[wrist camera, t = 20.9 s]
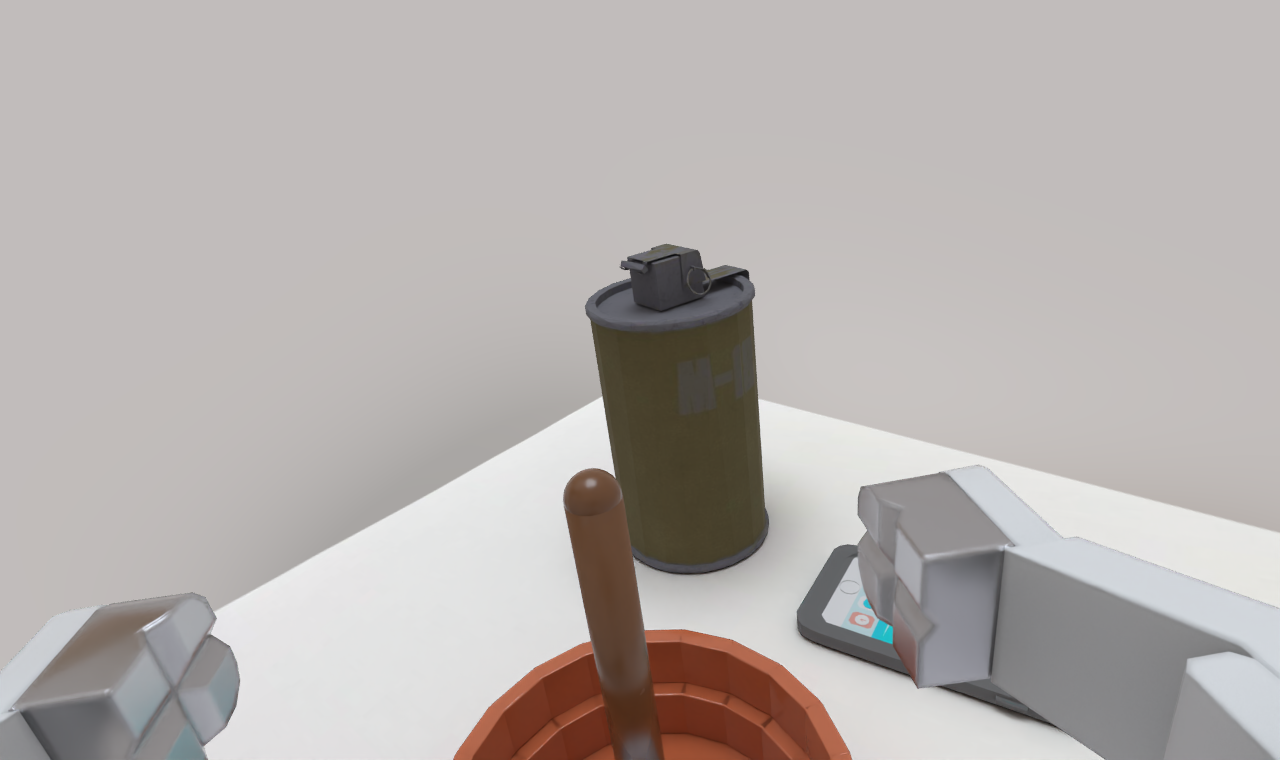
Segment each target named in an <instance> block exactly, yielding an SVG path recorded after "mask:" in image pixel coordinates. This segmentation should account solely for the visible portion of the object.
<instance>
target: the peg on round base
mask: <svg viewBox="0 0 1280 760" xmlns="http://www.w3.org/2000/svg"><path fill="white" fill-rule="evenodd" d="M563 502H564V508H565V513H566V518H567V523H568V528H569V533H570V538H571V543H572V548H573V553H574V558H575V563H576V568H577V573H578V578H579V583H580V588H581V593H582V598H583V603H584V608H585V613H586V618H587V623H588V628H589V633H590V638H591V643H592V648H593V653H594V658H595V663H596V668H597V673H598V678H599V683H600V688H601V693H602V698H603V703H604V708H605V713H606V718H607V723H608V728H609V733H610V738H611V743H612V748H613V753H614V758H615V760H665V757H664V751H663V744H662V738H661V732H660V725H659V719H658V713H657V707H656V700H655V694H654V688H653V681H652V675H651V669H650V663H649V656H648V650H647V644H646V637H645V631H644V625H643V619H642V612H641V606H640V600H639V593H638V587H637V581H636V575H635V568H634V562H633V556H632V549H631V543H630V537H629V531H628V524H627V518H626V512H625V505H624V499H623V493H622V489H621V487H620V484H619V483H618V481H617V480H616V479H615V478H614V477H613V475H611V474H610V473H608V472H607V471H604V470H601V469H595V468H591V469H586V470H583V471H580V472H578V473H577V474H576V475H574V476H573V477H572V478H571V479H570V481H569V482H568V483H567V485H566V488H565V490H564V496H563Z"/></svg>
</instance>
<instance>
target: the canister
mask: <svg viewBox="0 0 1280 760" xmlns="http://www.w3.org/2000/svg"><path fill="white" fill-rule="evenodd" d="M651 249H652V250H650V251H647V252H643V253H640V254H636V255H633V256H629V257H628V258H627V259H628V261H622V262H621V267H620V268H621V269H624V268H625V269H624V270H629V269H630V275H631V278H630V279H626V280H623V281H620V282H616V283H613V284H611V285H609V286H607V287H605V288H603V289H601V290H599V291H598V292H596V293H595V294H594V295H593V296H591V297H590V298H589V299H588V301H587V303H586V305H585V309H586V314H587V316H588V317H589V318H590V320H591V326H592V332H593V339H594V344H595V351H596V357H597V364H598V370H599V376H600V382H601V388H602V395H603V401H604V408H605V414H606V420H607V426H608V433H609V439H610V445H611V451H612V458H613V464H614V470H615V476H616V480H617V481H618V483H619V484H620V487H621V489H622V493H623V499H624V505H625V512H626V518H627V524H628V531H629V537H630V543H631V549H632V554H633V555H634V556H635V557H636V558H638V559H639V560H641V561H642V562H644V563H645V564H647V565H650V566H652V567H654V568H657V569H659V570H663V571H668V572H685V573H703V572H708V571H712V570H716V569H721V568H724V567H727V566H730V565H732V564H735V563H736V562H738V561H740V560H742V559H744V558H746V557H748V556H749V555H750V554H752V553H753V552H754V551H755V550H756V549H757V548H758V547H759V546H760V545H761V543H762V542H763V541H764V539H765V537H766V535H767V531H768V526H769V518H768V514H767V511H766V508H765V503H764V487H763V471H762V454H761V438H760V422H759V406H758V390H757V374H756V359H755V344H754V326H753V310H752V299H753V298H754V296H755V289H754V285H753V283H751V282H750V281H749V272H748V271H747V270H745V269H741V268H736V267H732V266H727V265H724V266H721V267H718V268H714V269H711V270H706V269H705V268H704V269H703V266H702V261H701V256H700V253H699V251H698V250H694V249H689V248H684V247H679V246H674V245H670V244H664V245H660V246H657V247H654V248H651ZM622 267H624V268H622Z"/></svg>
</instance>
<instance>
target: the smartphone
mask: <svg viewBox="0 0 1280 760" xmlns="http://www.w3.org/2000/svg"><path fill="white" fill-rule="evenodd" d="M797 623H798V629H799V631H800V633H801V635H803V636H804V637H806V638H808V639H810V640H812V641H814V642H816V643H819V644H821V645H824V646H827V647H830V648H833V649H836V650H839V651H842V652H845V653H847V654H850V655H853V656H856V657H859V658H862V659H865V660H868V661H871V662H874V663H877V664H879V665H882V666H885V667H888V668H891V669H894V670H897V671H900V672H903V673H906V674H909V673H908V671H907V669H906V668H905V666H904V664H903V662H902V661H901V659H900V657H899V656H898V654H897V652H896V650H895V649H894V647H893V627H892V626H890V625H888V624H886V623H885V622H883V621H881V620H879V619H877V617H876V615H875V613H874V612H873V610H872V608H871V606H870V604H869V602H868V600H867V597H866V594H865V592H864V589H863V586H862V581H861V576H860V572H859V567H858V546H856V545H848V544H847V545H842V546H839V547H837V548H835V549H834V550H833V552H832V554H831V555H830V557H829V559H828V560H827V562H826V564H825V565H824V567H823V569H822V570H821V572H820V574H819V575H818V577H817V579H816V580H815V582H814V584H813V585H812V587H811V589H810V590H809V592H808V594H807V595H806V597H805V599H804V600H803V602H802V604H801V605H800V607H799V609H798V610H797ZM909 675H910V674H909ZM941 686H944V687H946V688H949V689H952V690H955V691H958V692H961V693H964V694H967V695H970V696H973V697H976V698H978V699H981V700H984V701H987V702H990V703H993V704H996V705H999V706H1002V707H1005V708H1008V709H1010V710H1013V711H1016V712H1019V713H1022V714H1025V715H1028V716H1031V717H1034V718H1037V719H1040V720H1043V721H1045V722H1048V723H1051V722H1049V721H1048V720H1046V719H1045V718H1043V717H1042V716H1040V715H1039V714H1038V713H1036V712H1035V711H1033V710H1032V709H1030V708H1029V707H1027V706H1026V705H1024V704H1023V703H1021V702H1020V701H1018V700H1017V699H1015V698H1014V697H1013V696H1011V695H1010V694H1008V693H1007V692H1005V691H1004V690H1002V689H1001V688H999V687H998V686H996V685H995V684H993V683H992V682H991V678H989V679H982V680H975V681H968V682H961V683H953V684H946V685H941ZM1051 724H1052V723H1051Z"/></svg>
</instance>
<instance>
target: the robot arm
mask: <svg viewBox="0 0 1280 760" xmlns="http://www.w3.org/2000/svg"><path fill="white" fill-rule="evenodd" d="M858 516H859V518H860V519H861V521H862V522H863V524H864V525H865V527H866V529H867V532H866V533H865V535H864V536H863V537H862V539H861V540H860V542H859V543H858V567H859V572H860V576H861V581H862V586H863V589H864V592H865V594H866V597H867V600H868V602H869V604H870V606H871V608H872V610H873V612H874V613H875V615H876V617H877V619H879V620H881V621H883V622H885V623H886V624H888V625H890V626H892V627H893V647H894V649H895V650H896V652H897V654H898V656H899V657H900V659H901V661H902V662H903V664H904V666H905V668H906V669H907V671H908V673H909V674H910V676H911V678H912V680H913V681H914V683H915V685H916V686H917V688H925V687H932V686H939V685H946V684H953V683H961V682H968V681H975V680H982V679H989V678H991V682H992V683H993V684H995V685H996V686H998V687H999V688H1001V689H1002V690H1004V691H1005V692H1007V693H1008V694H1010V695H1011V696H1013V697H1014V698H1015V699H1017V700H1018V701H1020V702H1021V703H1023V704H1024V705H1026V706H1027V707H1029V708H1030V709H1032V710H1033V711H1035V712H1036V713H1038V714H1039V715H1040V716H1042V717H1043V718H1045V719H1046V720H1048V721H1049V722H1051V723H1052V724H1054V725H1055V726H1057V727H1058V728H1060V729H1061V730H1063V731H1064V732H1066V733H1067V734H1068V735H1070V736H1071V737H1073V738H1074V739H1076V740H1077V741H1079V742H1080V743H1082V744H1083V745H1085V746H1086V747H1088V748H1089V749H1091V750H1092V751H1094V752H1095V753H1096V754H1098V755H1099V756H1101V757H1102V758H1104V759H1105V760H1280V608H1277V607H1274V606H1271V605H1269V604H1266V603H1263V602H1260V601H1257V600H1254V599H1252V598H1249V597H1246V596H1243V595H1240V594H1237V593H1235V592H1232V591H1229V590H1226V589H1223V588H1221V587H1218V586H1215V585H1212V584H1209V583H1206V582H1204V581H1201V580H1198V579H1195V578H1192V577H1190V576H1187V575H1184V574H1181V573H1178V572H1175V571H1173V570H1170V569H1167V568H1164V567H1161V566H1158V565H1156V564H1153V563H1150V562H1147V561H1144V560H1142V559H1139V558H1136V557H1133V556H1130V555H1127V554H1125V553H1122V552H1119V551H1116V550H1113V549H1110V548H1108V547H1105V546H1102V545H1099V544H1096V543H1094V542H1091V541H1088V540H1085V539H1082V538H1079V537H1072V538H1065V539H1064V538H1063V537H1062V536H1061V535H1060V534H1059V533H1057V532H1056V531H1055V530H1054V529H1053V528H1052V527H1051V526H1050V525H1049V524H1048V523H1047V522H1046V521H1044V520H1043V519H1042V518H1041V517H1040V516H1039V515H1038V514H1037V513H1036V512H1035V511H1034V510H1033V509H1031V508H1030V507H1029V506H1028V505H1027V504H1026V503H1025V502H1024V501H1023V500H1022V499H1021V498H1020V497H1018V496H1017V495H1016V494H1015V493H1014V492H1013V491H1012V490H1011V489H1010V488H1009V487H1008V486H1007V485H1005V484H1004V483H1003V482H1002V481H1001V480H1000V479H999V478H998V477H997V476H996V475H995V474H994V473H992V472H991V471H990V470H989V469H988V468H986V467H983V466H980V465H974V466H969V467H963V468H958V469H953V470H948V471H943V472H939V473H937V474H931V475H925V476H920V477H914V478H908V479H902V480H897V481H891V482H885V483H879V484H874V485H868V486H862V487H861V488H860V492H859V496H858ZM216 619H217V618H216V616H215V614H214V612H213V610H212V608H211V607H210V605H209V603H208V601H207V599H206V597H204V596H201V595H198V594H195V593H185V594H178V595H171V596H164V597H157V598H149V599H142V600H135V601H127V602H121V603H113V604H110V605H99V606H93V607H87V608H81V609H74V610H69V611H66V612H64V613H61V614H58V615H56V616H53V617H52V618H51V619H50V620H49V621H48V622H47V623H46V624H45V625H44V626H43V627H42V629H41V630H40V631H39V632H38V633H37V634H36V635H35V636H34V637H33V638H32V639H31V640H30V641H29V642H28V643H27V644H26V645H25V646H24V647H23V648H22V649H21V650H20V651H19V653H18V654H17V655H16V656H15V657H14V658H13V659H12V660H11V661H10V662H9V663H8V664H7V665H6V666H5V667H4V668H3V669H2V670H1V671H0V760H208V758H207V755H206V752H205V749H204V745H206V744H207V743H208V742H209V741H210V740H211V739H213V738H214V737H215V736H216V735H217V734H218V733H220V732H221V731H222V730H223V729H224V728H225V727H226V726H227V724H228V722H229V720H230V718H231V716H232V714H233V712H234V709H235V707H236V704H237V697H238V691H239V685H240V678H239V671H238V665H237V661H236V659H235V657H234V654H233V652H232V650H231V648H230V646H229V645H227V644H225V643H224V642H222V641H221V640H219V639H217V638H216V637H214V636H213V635H211V632H212V629H213V627H214V624H215V621H216Z"/></svg>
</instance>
